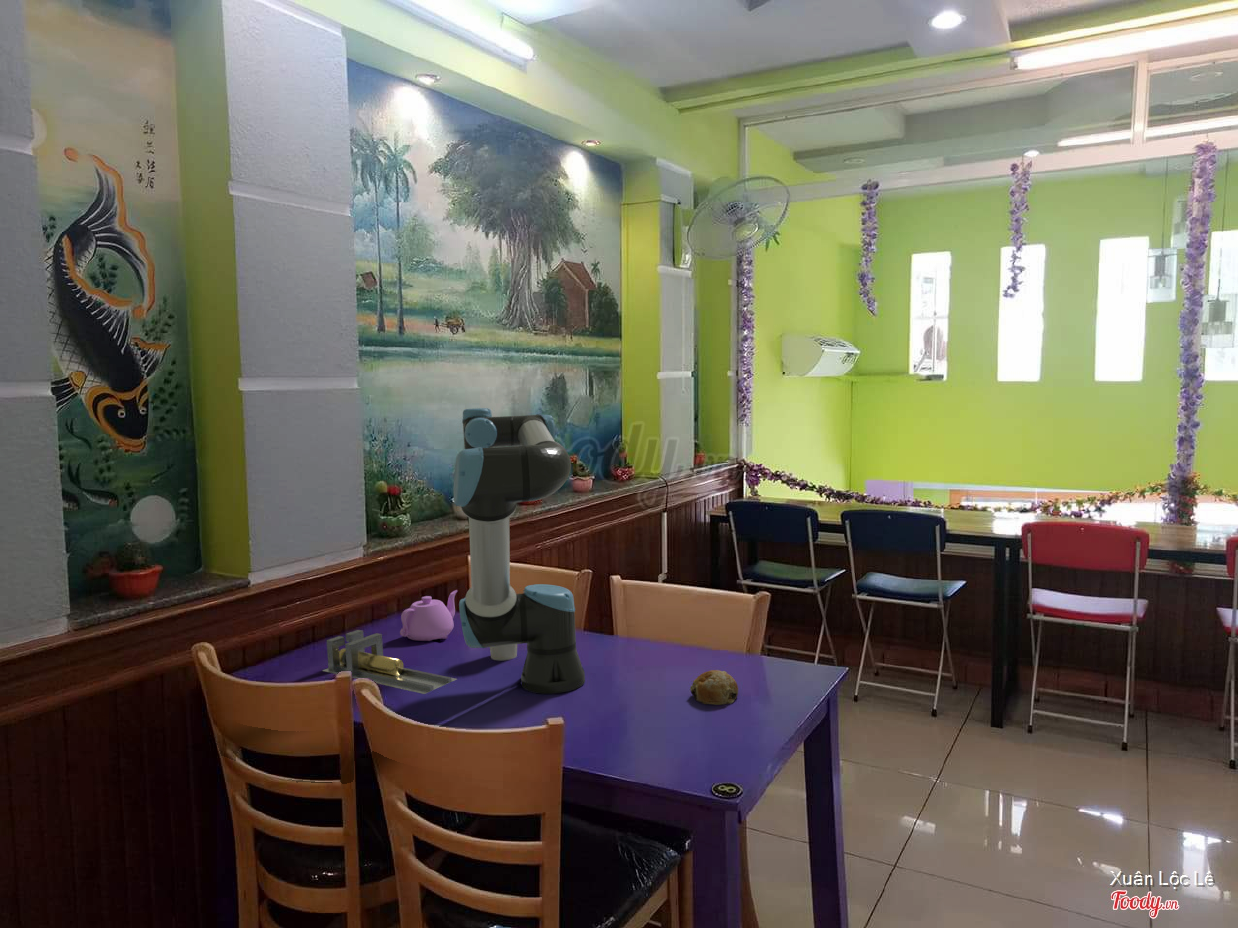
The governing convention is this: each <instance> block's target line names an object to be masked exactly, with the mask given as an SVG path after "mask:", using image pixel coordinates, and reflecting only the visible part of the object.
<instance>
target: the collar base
mask: <svg viewBox="0 0 1238 928" xmlns="http://www.w3.org/2000/svg"><path fill="white" fill-rule="evenodd" d="M364 635H365V634H364V630H362V629H361V630H360V629H356V630H354V631H350V632H348V633H345V636H341V635H338V636H335V637H333V638H332V637H331V638H330V639H327V640H326V653H327V666H328V667H327V668H324V669H323V670H321V671H322V672H326V673H330V674H334V675H338V674H337V673H339V672H341V671H351V672H352V676H353V677H352V679H356V678H370V679H372V680H373V681H375V682H376V683H375V684H377V685H382V686H387V687H390V688H395V689H401V690H404V691H409V692H414V693H417V694H418V693H419V694H422V695H425V694H428V693H430V692H432V691H434V690H436V689H439V688H442V687H443V686H446V685H447V684H450V683H451V682H454V681H456V680H458V679H457V678H454V677H450V676H445V675H440V674H436V673H431V672H426V671H422V670H417V669H412V668H408V667H403V671H402V672H401V674H399V675H398V676H394V675H390V674H385V673H381V672H376V671H371V670H367V669H362V668H359V664H358V651H361V652H365V651H366V650H365V649H367V648H369V647H371V649H370V650H371V654H375V655H380V656H384V647H383V646H384V645H383V634H382V633H378V632H377V633H373V634H370V635H367V636H364ZM346 642H347V643H346ZM342 646H345V649H346V663H347V665H344V664H340V657H339V651H340V647H342Z"/></svg>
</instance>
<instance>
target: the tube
mask: <svg viewBox="0 0 1238 928" xmlns="http://www.w3.org/2000/svg"><path fill="white" fill-rule="evenodd" d="M339 657H340V664H344V665H347V663H346V649H345V648H344V647H343V648H341V649H339ZM358 664H359V668H362V669H367V670H371V671H376V672H381V673H385V674H390V675H394V676H398V675H399V674H401V672H402V671H403V668H405V667H404V662H403V660H401V658H400V659H399V658H394V657H390V656H385V655H383V656H380V655H375V654H372V652H371V653H369V652H361V651H358Z"/></svg>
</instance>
